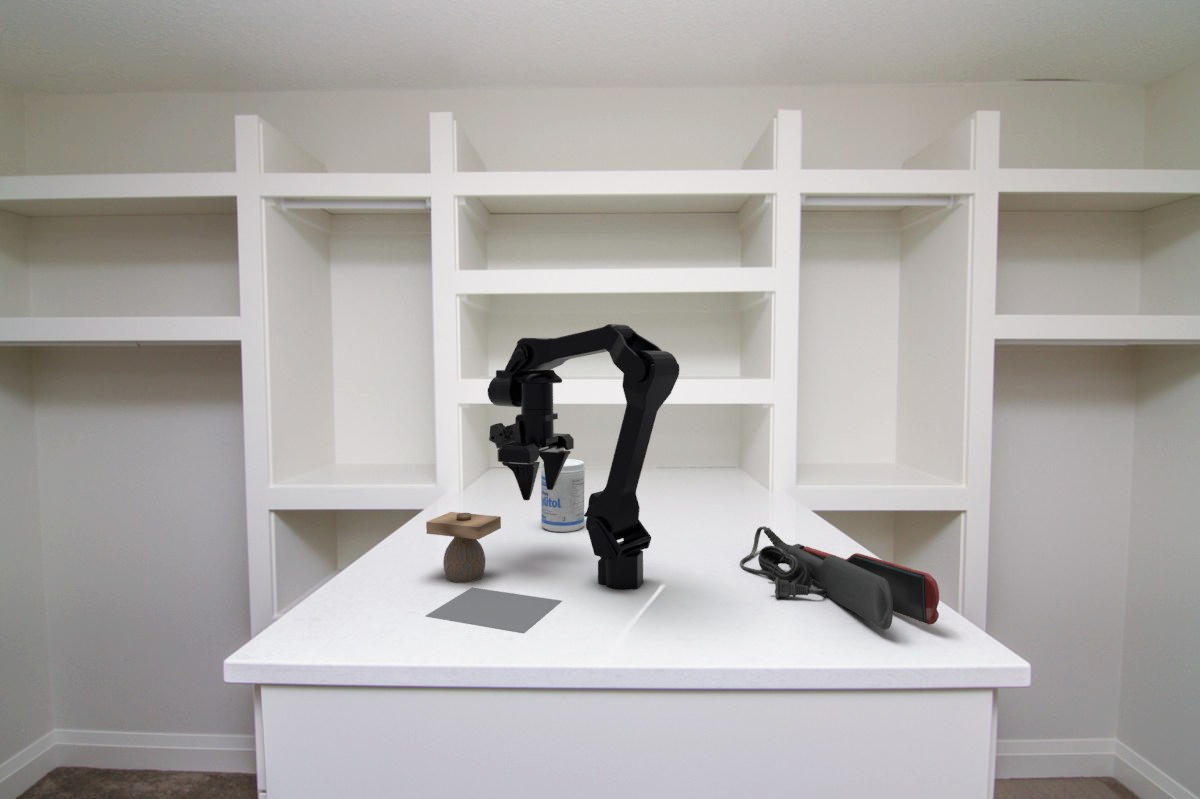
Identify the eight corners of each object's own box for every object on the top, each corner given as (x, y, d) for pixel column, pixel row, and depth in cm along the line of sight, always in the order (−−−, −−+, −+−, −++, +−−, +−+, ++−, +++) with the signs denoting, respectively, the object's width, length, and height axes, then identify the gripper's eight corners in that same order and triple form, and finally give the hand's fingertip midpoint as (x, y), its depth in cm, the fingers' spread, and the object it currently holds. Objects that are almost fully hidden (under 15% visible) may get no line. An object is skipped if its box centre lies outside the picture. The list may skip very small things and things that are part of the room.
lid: (500, 528, 108) (500, 512, 107) (478, 539, 101) (478, 522, 101) (451, 523, 111) (450, 507, 111) (426, 533, 105) (426, 516, 104)
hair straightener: (784, 550, 123) (784, 508, 123) (944, 638, 84) (946, 577, 84) (710, 557, 119) (711, 514, 119) (844, 652, 81) (845, 589, 80)
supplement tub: (533, 529, 138) (532, 463, 137) (555, 519, 147) (555, 457, 146) (571, 535, 134) (570, 466, 133) (592, 524, 142) (591, 459, 141)
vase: (476, 591, 102) (474, 537, 102) (436, 588, 104) (435, 535, 103) (491, 576, 109) (490, 526, 109) (454, 574, 111) (453, 524, 110)
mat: (562, 607, 95) (562, 600, 95) (524, 640, 84) (524, 633, 84) (472, 593, 101) (471, 587, 101) (425, 622, 90) (424, 616, 90)
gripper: (522, 403, 124) (524, 482, 125) (469, 411, 107) (471, 502, 108) (574, 404, 120) (575, 485, 121) (527, 413, 103) (529, 507, 104)
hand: (538, 494), depth 114 cm, fingers open, 9 cm apart
